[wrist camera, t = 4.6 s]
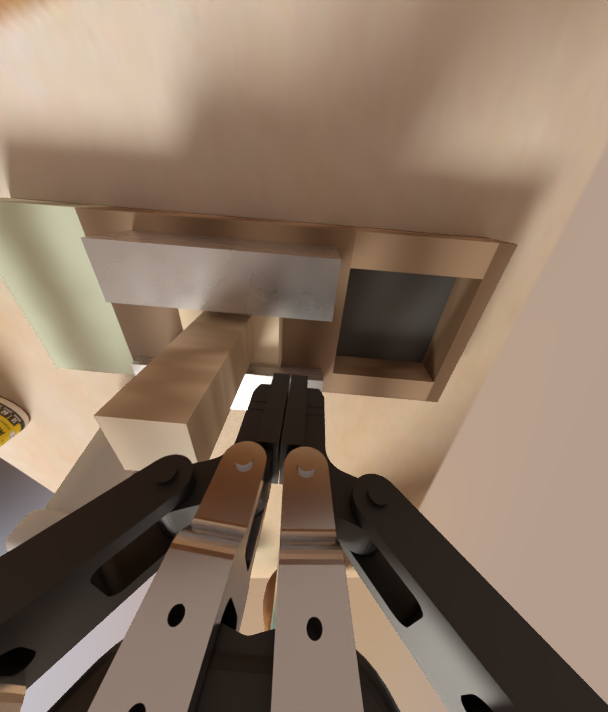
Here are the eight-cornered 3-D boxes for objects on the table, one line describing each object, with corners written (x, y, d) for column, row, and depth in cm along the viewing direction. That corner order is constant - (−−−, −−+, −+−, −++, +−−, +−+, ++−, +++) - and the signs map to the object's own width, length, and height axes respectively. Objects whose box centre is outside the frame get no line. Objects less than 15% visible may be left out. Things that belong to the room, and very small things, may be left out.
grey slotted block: (336, 246, 14) (341, 259, 11) (318, 383, 19) (318, 416, 16) (132, 229, 14) (80, 237, 11) (172, 370, 20) (145, 400, 17)
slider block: (284, 279, 15) (234, 387, 6) (282, 358, 18) (247, 502, 10) (189, 271, 15) (8, 367, 6) (204, 351, 18) (98, 489, 10)
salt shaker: (132, 388, 25) (-12, 532, 14) (181, 416, 27) (88, 561, 16) (113, 415, 28) (-23, 555, 17) (159, 439, 29) (65, 579, 19)
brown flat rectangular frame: (486, 237, 16) (517, 244, 13) (424, 379, 22) (437, 402, 20) (10, 198, 16) (-48, 197, 14) (85, 349, 23) (56, 368, 20)
